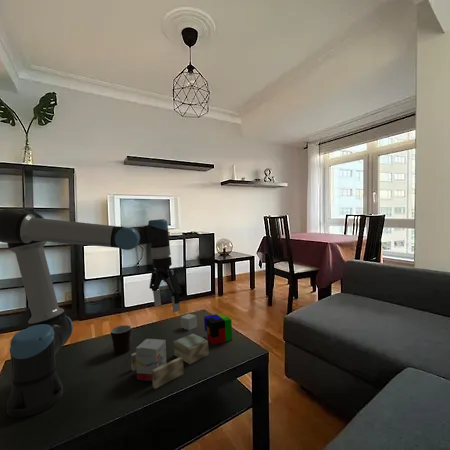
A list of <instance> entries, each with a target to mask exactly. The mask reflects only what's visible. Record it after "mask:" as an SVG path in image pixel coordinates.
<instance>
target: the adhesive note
mask: <svg viewBox="0 0 450 450" xmlns="http://www.w3.org/2000/svg"><path fill="white" fill-rule="evenodd" d="M197 318H198V317H197V315H196V314H191V313H187V314H185V315H182V316H181V317H180V327H181V329H183V328H184V329H183V330H188V331H191V330H193V329H195V328H197V327H198V320H197Z"/></svg>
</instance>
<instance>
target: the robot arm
mask: <svg viewBox="0 0 450 450" xmlns="http://www.w3.org/2000/svg"><path fill="white" fill-rule="evenodd" d="M169 234H170V232H169V225H168V221H167V220H166V219H164V218H161V219H151V220H148V222H147V225H146V224H145V225H139V226H120V225H119V226H117V225H107V224H99V223H89V222H81V221H80V222H78V221H69V220H60V219H53V218H52V219H50V218H45V217H44V216H43V215H42V214H40V213H39V212H36V211H34V210H31V209H15V208H4V209H0V243H5V244H6V245H7V247H8V250H9V251H11V252H13V253H14V254H15V257H16V262H17V264H18V268H19V272H20V276H21V279H22V283H23V286H24V287H23V289H24V291H25V295H26V300H27V302H28V303H27V304H28V306H29V310H30V313H31V317H30V318H29V320H28V322H27V323H28V327H27V328H25V329H21V330H20V331H18V332H16V333H15V334H14V335H13V336H12V338H11V339H10V345H9V346H10V347H9V354H10V365H11V366H10V367H11V379H12V386H11V390H10V393H9V396H8V398H7V399H8V400H7V403H6V414H7V415H8V417H11V418H13V419H14V418H16V419H19V418H20V419H21V418H26V417H31V416H34V415H37V414H39V413H42V412H44V411H46V410H48V409H50V408H51V407H53V406H54V405H55V404H56V403H57V402H59V400H61V398H62V396H64V395H63V394H64V386H63V383H62V381H61V379H60V377H59V375H58V373H57V369H56V354H57V353H58V352H59V351H60V349H62V347H63V346H64V345H65V344H66V343H68V340H69V339H70V338H71V336H72V333H73V330H74V326H73V325H74V324H73V321H72V319H71V318H70V317H69V316H67V315H66V312H65V309H64V308H61V307H59V304H58V299H57V296H56V292H55V288H54V284H53V280H52V277H51V273H50V268H49V264H48V261H47V257H46V253H45V249H44V247H45V245H46V244H47V243H56V244H71V245H79V246H80V245H82V246H83V245H84V246H91V247H92V246H93V247H103V248H104V247H105V248H114V249H115V248H116V249H121V250H125V251H129V250H130V251H131V250H133V249H135V248H137V246H143V245H150V250H151V253H150V254H151V258H152V261H151V262H152V267H153V268H151V275H150V282H149V289H150V290H151V291H152V294H153V303H154V307H158V306H161V305H162V301H161V290H160V286H161V284H162V281H163V282H164V283H166V285H167V287H168V289H169V291H170V293H171V294H172V295H171V304H172V312H173V314H174V313H178V312H179V311H181V308H180V307H181V306H180V295H181V294H182V293H183V290H182V287H181V285H180V282H179V280H178V277H177V273H176V269H174V268H173V269H171V268H170V267H171V266H173V265H172V257H171V248H170V247H171V245H170V235H169Z"/></svg>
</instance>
